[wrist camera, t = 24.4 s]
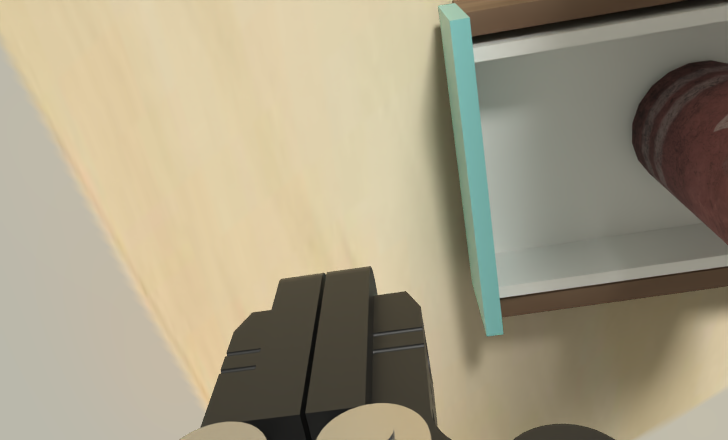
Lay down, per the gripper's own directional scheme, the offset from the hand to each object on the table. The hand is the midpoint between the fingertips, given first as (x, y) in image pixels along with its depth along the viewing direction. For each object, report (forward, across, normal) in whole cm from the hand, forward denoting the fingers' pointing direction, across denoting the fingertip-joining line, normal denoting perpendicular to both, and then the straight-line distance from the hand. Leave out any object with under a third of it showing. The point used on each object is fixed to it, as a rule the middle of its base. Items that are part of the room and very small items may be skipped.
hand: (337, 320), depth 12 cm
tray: (+24, -12, +6) cm, 27 cm away
